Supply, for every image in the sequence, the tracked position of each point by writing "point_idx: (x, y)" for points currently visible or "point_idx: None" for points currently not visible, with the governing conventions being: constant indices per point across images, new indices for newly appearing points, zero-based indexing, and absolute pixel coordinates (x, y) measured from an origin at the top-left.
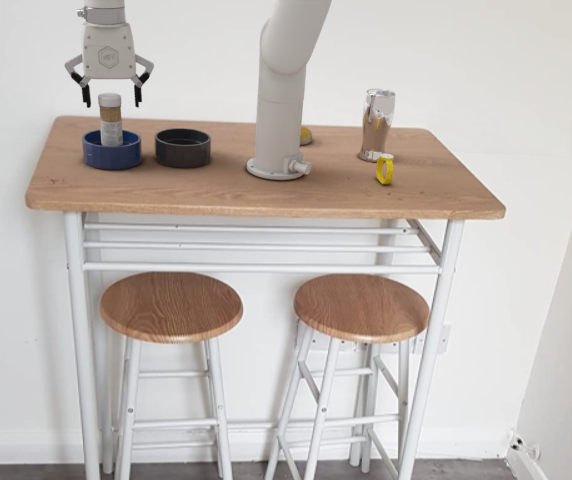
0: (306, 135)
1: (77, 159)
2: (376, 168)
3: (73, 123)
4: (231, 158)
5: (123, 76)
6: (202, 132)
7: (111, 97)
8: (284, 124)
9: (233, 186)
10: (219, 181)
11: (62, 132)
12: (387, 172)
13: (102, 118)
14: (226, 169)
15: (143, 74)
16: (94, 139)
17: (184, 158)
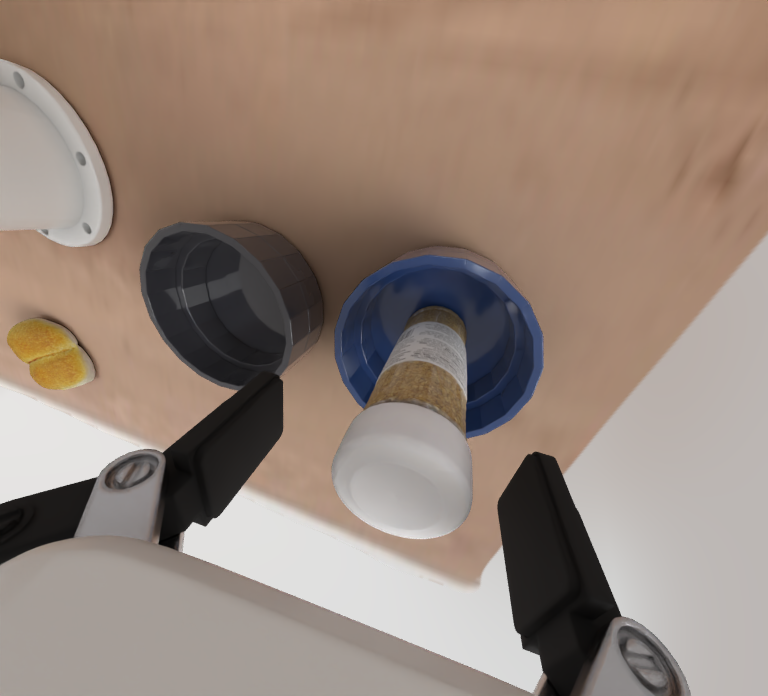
0: (14, 326)
1: None
2: None
3: (458, 553)
4: None
5: (147, 593)
6: (169, 340)
7: (392, 455)
8: None
9: (122, 22)
10: (165, 85)
11: (499, 525)
12: None
13: (461, 396)
14: (159, 197)
15: (7, 558)
16: (469, 414)
17: (236, 223)
